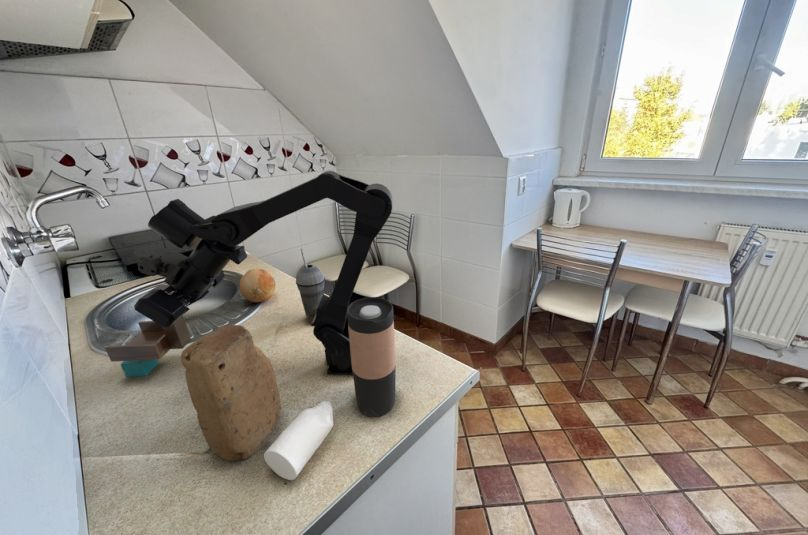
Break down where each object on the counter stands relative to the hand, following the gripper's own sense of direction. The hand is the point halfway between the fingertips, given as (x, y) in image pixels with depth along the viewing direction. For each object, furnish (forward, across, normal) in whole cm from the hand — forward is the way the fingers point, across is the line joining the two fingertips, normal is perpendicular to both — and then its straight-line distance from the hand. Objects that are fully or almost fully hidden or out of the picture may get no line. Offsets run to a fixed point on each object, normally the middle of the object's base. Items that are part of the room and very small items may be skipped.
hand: (164, 317), depth 63 cm
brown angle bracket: (+7, 0, +2) cm, 7 cm away
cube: (+13, 0, +4) cm, 13 cm away
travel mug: (-19, +11, +39) cm, 45 cm away
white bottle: (-12, +19, +32) cm, 39 cm away
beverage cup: (-7, -19, +27) cm, 33 cm away
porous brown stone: (-5, +17, +24) cm, 30 cm away
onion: (+6, -31, +13) cm, 34 cm away
